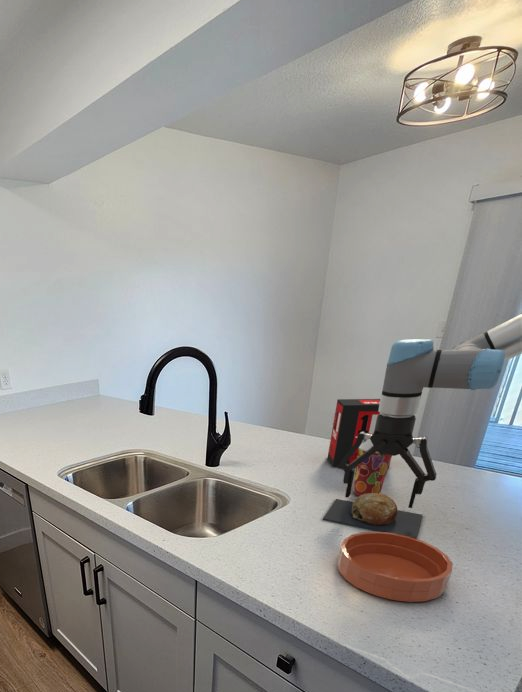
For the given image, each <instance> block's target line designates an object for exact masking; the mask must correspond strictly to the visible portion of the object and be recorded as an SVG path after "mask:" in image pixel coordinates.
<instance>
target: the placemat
mask: <svg viewBox="0 0 522 692" xmlns="http://www.w3.org/2000/svg"><path fill="white" fill-rule="evenodd" d="M353 502H354V501H350V500H346V499H345V500H344V499H339V498H335V499H334V501H333V503H332V505H331V506H330V507H329V508H328V510H327V512H326V514H325V515H324V517H322V520H323V521H327V522H332V523H337V524H341V525H346V526H351V527H355V528H360V529H366V530H370V531H373V532H388V533H395V534H400V535H404V536H409V537H412V538H415V539H418V538H417V537H418V533H419V529H420V526H421V522H422V518H423V514H422V513H421V514H420V513H417V512H410V511H404V510H399V509H398V512H397V516H396V518H395V519H394V521H392V522H391V523H390V524H388V525H372V524H369V523H367V522H363V521H361V520H358V519H356V518H353V515H352V513H351V512H352V504H353Z"/></svg>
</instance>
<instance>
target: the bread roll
mask: <svg viewBox="0 0 522 692" xmlns="http://www.w3.org/2000/svg"><path fill="white" fill-rule="evenodd" d="M352 502H353V504H352V512H351V513H352V515H353V518H356V519H358V520H361V521H363V522H367V523H369V524H372V525H388V524H390V523H391V522H392V521H394V519H395V518H396V516H397V512H398V510H399V509H398V505H397V504H396V502H395V501H394V500H393V499H392V497H390V496H389V495H386V494H384V493H381V492H380V493H378V494H376V493H368V494H362V495H360V496H358V495H357V497H356V498H355V499H354V500H353V501H352Z"/></svg>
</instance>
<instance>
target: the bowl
mask: <svg viewBox="0 0 522 692" xmlns="http://www.w3.org/2000/svg"><path fill="white" fill-rule="evenodd" d="M336 564H337V569H338V572H339V574H340V575H341V576H342V577H343V578H344V580H346V581H347V582H348V583H350V584H351V585H353V586H354V587H356V588H357V589H360V590H362V591H364V592H366V593H369V594H370V595H373V596H376V597H379V598H384V599H387V600H390V601H391V600H393V601H398V602H408V603H414V602H415V603H416V602H427V601H432V600H434V599H437V598H440V596H442V594H443V593H445V591H446V590H447V586H448V583H449V581H450V579H451V576H452V572H453V565H454V564H453V562H452V560H451V559H450V558H449V556H448V555H447V554H445V553H444V552H443V551H442V550H441V549H439V548H438V547H436V546H434V545H432V544H430V543H428V542H426V541H424V540H421V539H418V538H416V539H415V538H412V537H409V536H404V535H400V534H395V533H388V532H379V531H362V532H357V533H353V534H351V535H349V536H347V537H346V538H343V541H342V543H341V544H340V548H339V553H338V558H337V562H336Z"/></svg>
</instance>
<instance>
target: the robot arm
mask: <svg viewBox="0 0 522 692" xmlns="http://www.w3.org/2000/svg"><path fill="white" fill-rule="evenodd" d="M521 354H522V313H520V314H518V315H516V316H514V317H513V318H510V319H509V320H507V321H504V322H503V323H500V324H498V325H497V326H494V327H492V328H491V329H489V330H487V331H485V332H483V333H481V334H478V335H477V336H475V337H473V338H470V339H469V340H466V341H462V342H460V343H458V344H456V345H454V346H453V347H452V348H450V349H436V348H434V341H433V340H432V339H428V338H427V339H426V338H410V339H409V338H408V339H400V340H397V341H395V342H394V343H393V344H392V345H391V347H390V352H389V355H388V360H387V363H386V369H385V373H384V379H383V385H382V391H381V394H380V395H381V396H380V398H379V399H380V404H379V410H378V411H379V412H380V414H379V415H377V420H376V425H375V430H374V433H373V434H367V433H365V432H364V431H362V432H360V434H359V435H358V437H357V440H356V443H355V444H354V445H353V447H352V448H351V449H350V450H349V452H348V453H347V454H346V455H345V457H344V458H343V459H342V461H341V462H340V463H339V464H338V467H337V469H339V470H340V469H341V470H343V471H344V474H343V480H342V481H343V484H345V485H346V490H345V494H344V498H349V497H350V496H351V494H352V489H353V485H354V479H355V471H356V468H355V467H356V466H358V465H359V464H360V463H362V462H363V461H364V460H366V459H367V458H368V457H370V456H371V455H373V454H374V453H375V452H378V453H380V454H383V455H385V454H389V455H392V457H396V456H398V455H399V456H400V457H401V459H403V460H404V462H405V463H406V464H407V466H408V467H409V469H410V470H411V471H412V473H413V474H414V476H415V479H414V483H413V487H412V491H411V495H410V499H409V503H408V505H407V506H408V507H407V508H409V509H413V506H414V503H415V498H416V495H420V496H421V495H422V494H423V491H424V487H425V483H426V482H429V481H432V482H433V481H435V480H437V472H436V469H435V465H434V462H433V460H432V456H431V454H430V451H429V449H428V441H429V438H428V436H422V437H413V433H414V428H415V424H416V420H417V417H416V414H417V413H418V411H419V407H420V403H421V399H422V394H423V390H424V388H428V389H433V388H434V389H454V390H455V389H456V390H470V391H476V390H491V389H494V388H495V387H496V386H497V384H498V382H499V379H500V376H501V373H502V370H503V367H504V362H506V361H508V360H511V359H512V358H513V359H514V358H515V357H517V356H519V355H521ZM368 439H370V440H371V442H372V444H373V446H372V447H371V448H370V449H369V450H367V451H366V452H365V453H363V454H362V455H361V456H359V457H358V458H357V459H355V460H354V461H353V462H352V463H350V464H346V463H347V461H348V460H349V459H350V458H351V456H352V455H353V454H354V453H355V451H356V450H357V449H358V448H359V446H360V445H361V444H362V443H365V442H366V441H367V440H368ZM412 444H414V445H415V448H417V449H419V453H420V456H421V459H422V462H423V465H424V468H425V471H426V473H425V471H424V470H423V469H422V467H421V466H420V465H419V463H418V462H417V460H416V459H415V458H414V456H413V455H412V454H411V451H410V450H409V447H410V446H411V445H412Z"/></svg>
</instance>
